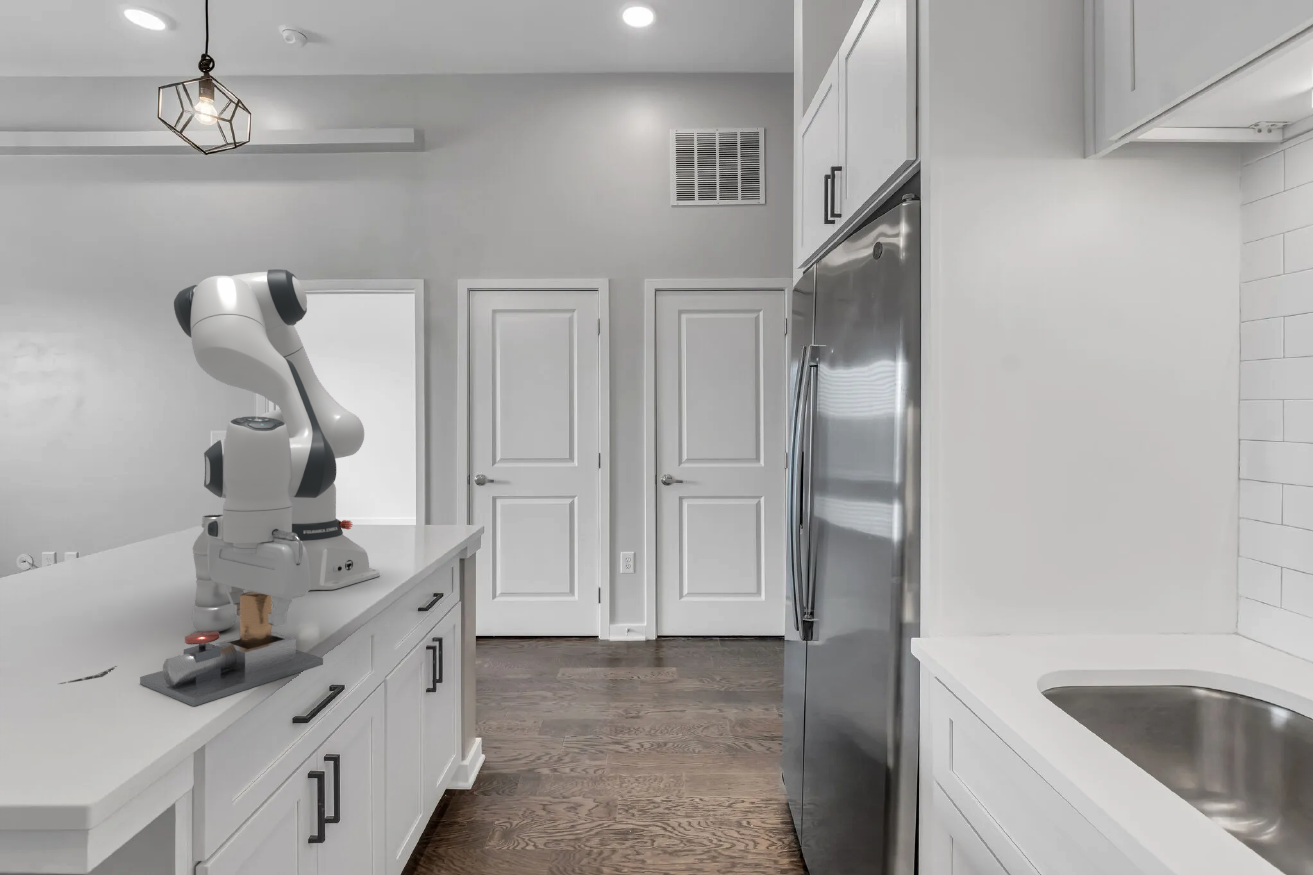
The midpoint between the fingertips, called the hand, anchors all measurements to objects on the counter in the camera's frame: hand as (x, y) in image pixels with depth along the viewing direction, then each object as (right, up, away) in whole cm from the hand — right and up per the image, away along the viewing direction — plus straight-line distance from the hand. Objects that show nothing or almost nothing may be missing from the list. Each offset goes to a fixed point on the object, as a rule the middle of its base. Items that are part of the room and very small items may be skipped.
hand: (258, 619), depth 102 cm
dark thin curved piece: (-22, -8, -4) cm, 23 cm away
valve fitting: (-2, -7, -3) cm, 8 cm away
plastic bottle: (-17, -7, +17) cm, 25 cm away
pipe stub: (0, -6, 0) cm, 6 cm away
